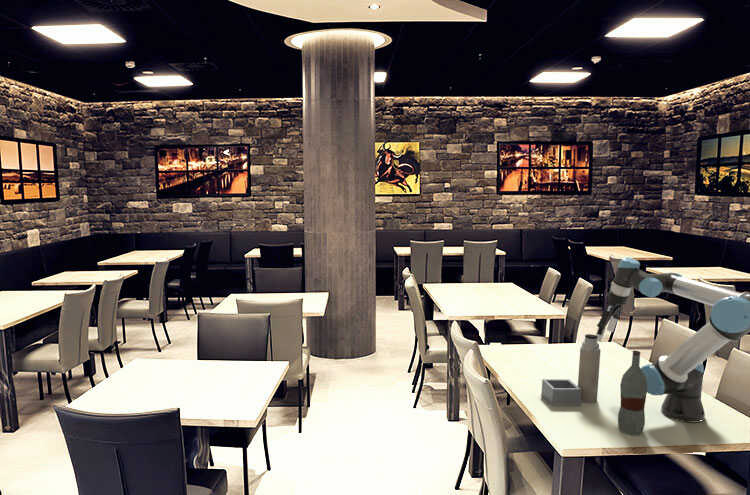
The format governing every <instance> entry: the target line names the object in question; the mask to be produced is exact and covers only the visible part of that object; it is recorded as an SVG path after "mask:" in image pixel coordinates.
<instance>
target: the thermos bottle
mask: <svg viewBox="0 0 750 495" xmlns="http://www.w3.org/2000/svg"><path fill="white" fill-rule="evenodd" d="M597 338H598V336H596V334H588V333H587V334H585V335H584V341H582V343H581V346H580V347H579V360H578V361H579V362H578V376H577V377H578V379H577V386H578V387H579V388H580V389H581V402H583V403H587V404H593V403H594V404H595V403H597V402H598V393H599V392H598V390H599V377H600V375H599V374H600V364H601V362H600V361H601V349H600V344H599V342H598V341H597Z"/></svg>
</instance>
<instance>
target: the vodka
mask: <svg viewBox="0 0 750 495" xmlns="http://www.w3.org/2000/svg"><path fill="white" fill-rule="evenodd" d="M640 361H641V351H639V350H632V358H631V365H630V366H629V367H628V369H626V371H624V373H623V374H622V377H621V381H620V406H619V411H618V415H617V425H618V429H619V430H620V432H623V433H625V434H627V433H628V434H627V435H632V434H633V436H638V435H639V436H640V435H642V434H643V432H644V428H645V424H646V418H645V416H646V415H645V407H646V406H645V405H646V399H647V394H648V393H647V390H648V387H647V379H646V377H645V375H644V374H643V372H642V370H641V368H642V367H640V365H641V364H640Z"/></svg>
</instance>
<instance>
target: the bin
mask: <svg viewBox="0 0 750 495" xmlns="http://www.w3.org/2000/svg"><path fill="white" fill-rule="evenodd" d="M541 380H542V381H541V382H542V383H541V396H542V397H543V398H544V399H545V401H547V402H548V404H549V405H551V406H552V407H553V406H555V407H557V406H558V407H566V406H567V407H581V402H582V401H581V389H580V388H579V387H578V384H576V383H575V382H574V381H572V380H571V379H566V378H565V379H564V378H563V379H560V378H559V379H557V378H556V379H554V378H553V379H552V378H551V379H548V378H543V379H541Z"/></svg>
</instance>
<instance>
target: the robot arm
mask: <svg viewBox="0 0 750 495" xmlns="http://www.w3.org/2000/svg"><path fill="white" fill-rule="evenodd" d="M640 266H641V263H640V261H638V260H637V259H634V258H631V257H622V258H621V259H620V261H619V264H618V265H617V269H616V272H615V275H614V278H613V281H611V283H610V284H611V286H610V290H609V292H608V295H607V300H608V301H609V302H610V303H608V305H606V307H605V310H604V312H603V314H601V315H602V316H601V318H600V320H599V322H598V323H597V324H596V326H597V327H598V328H597V330H596V333H595V335H596V336H598V338H597V342H598V343H599V342H600V343H601V342H602V340H603V337H604V333H605V331H608V332H611V333H613V332H614V331H615V327H616V325H617V322H618V320H619V321H620V319H621V315H622V311H623V310H622V309H623V306H624V305H626V304H627V301H628V298H629V296H630V294H631V290H632V288H634V289H635V290H637V291H638V292H640V293H641V294H643V295H645V296H646V297H649V298H655V297H656V296H659V295H660V294H661V293H665V292H666V293H670V294H673V295H677V296H679V297H683V298H686V299H689V300H693V301H696V302H699V303H702V304H705V305H708V306H711V307H712V308H711V310H710V311H711V313H710V314H709V315H708V319H707V320H708V322H707V323H706V324H705V325H703V326H702V327H701V328H700V329H699V330H697V331H696V332H695V333H694V334H692V335H691V337H689V338H688V339H687V340H686V341H684V342H683V343H682V344H681V345H680V346H678V347H677V348H676V349H675V350H673V351H672V352H671V354H669V355H667V354H666V355H665V354H663V355H662V356H660V357H659V358H658V359H656V360H655V361H654V362H653V363H648V364H645V365H642V367H640V368H641V370H642V372H643V374H644V375H645V377H646V379H647V387H648V390H647V394H649V395H651V396H663V395H666V396H665V398H664V400H663V402H662V404H661V408H660V409H661V410H660V411H661V413H662V414H663V415H664V416H665V417H668V418H670V417H671V419H673V418H674V419H673V420H676V419H678V420H677V421H680V420H684V421H683V422H685V421H700V420H703V419H704V420H705V416H706V414H705V409H704V406H703V401H702V390H703V382H704V373H705V371H704V364H703V362H705V361H706V360H707V359H708V358H710V357H711V356H712V355H714V354H715V353H716V352H717V351H718V350H720V348H723V346H725V345H726V344H728V343H729V342H737V341H739V340H741V339H742V338H743V337H745V336H746V335H748V334H749V333H750V291H744V292H739V291H735V290H731V289H728V288H724V287H721V286H716V285H713V284H710V283H707V282H702V281H699V280H694V279H691V278H688V277H684V276H683V275H682V274H680V273H678V272H666V273H665V272H664V273H661V272H660V273H647V272H645V271H643V270H642V269H641V268H640Z"/></svg>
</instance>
